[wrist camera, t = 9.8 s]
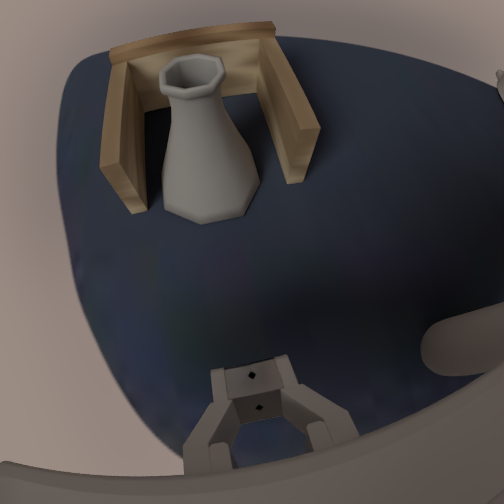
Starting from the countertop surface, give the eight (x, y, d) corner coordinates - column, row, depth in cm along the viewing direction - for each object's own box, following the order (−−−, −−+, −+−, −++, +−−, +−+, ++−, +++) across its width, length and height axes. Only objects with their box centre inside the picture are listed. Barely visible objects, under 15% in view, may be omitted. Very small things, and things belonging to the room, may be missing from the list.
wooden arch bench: (266, 83, 25) (271, 21, 18) (303, 181, 22) (324, 116, 15) (131, 107, 24) (110, 48, 17) (132, 214, 20) (92, 157, 14)
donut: (487, 308, 19) (579, 275, 9) (492, 349, 18) (586, 331, 8) (390, 329, 18) (494, 302, 9) (394, 379, 17) (501, 387, 8)
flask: (172, 139, 23) (144, 37, 13) (263, 145, 23) (274, 36, 13) (150, 222, 20) (92, 128, 11) (255, 231, 20) (265, 130, 11)
